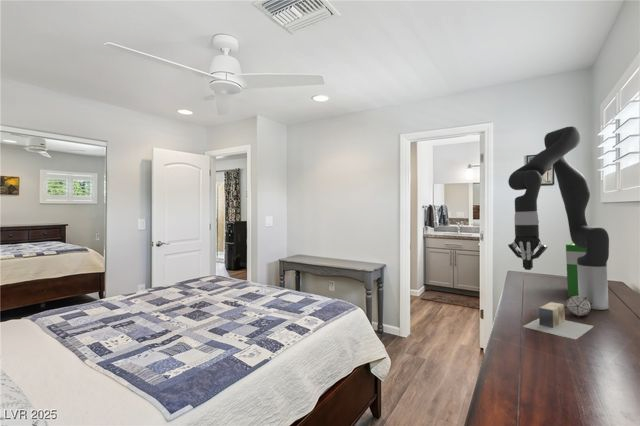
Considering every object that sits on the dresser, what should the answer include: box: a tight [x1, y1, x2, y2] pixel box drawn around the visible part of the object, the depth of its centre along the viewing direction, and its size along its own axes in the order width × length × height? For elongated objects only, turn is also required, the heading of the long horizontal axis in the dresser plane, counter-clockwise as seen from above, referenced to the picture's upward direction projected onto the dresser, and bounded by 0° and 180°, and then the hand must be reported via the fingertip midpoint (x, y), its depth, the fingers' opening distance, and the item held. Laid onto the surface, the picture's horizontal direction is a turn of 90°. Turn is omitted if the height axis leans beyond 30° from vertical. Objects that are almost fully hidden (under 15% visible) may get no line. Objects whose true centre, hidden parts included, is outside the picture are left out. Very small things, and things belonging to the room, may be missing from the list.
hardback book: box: [565, 241, 587, 297], centre depth 150 cm, size 18×7×24 cm, turn 134°
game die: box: [564, 294, 594, 319], centre depth 118 cm, size 9×8×10 cm
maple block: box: [538, 301, 566, 328], centre depth 111 cm, size 6×4×11 cm
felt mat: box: [522, 317, 595, 341], centre depth 108 cm, size 18×15×1 cm
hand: (528, 269), depth 117 cm, fingers closed
